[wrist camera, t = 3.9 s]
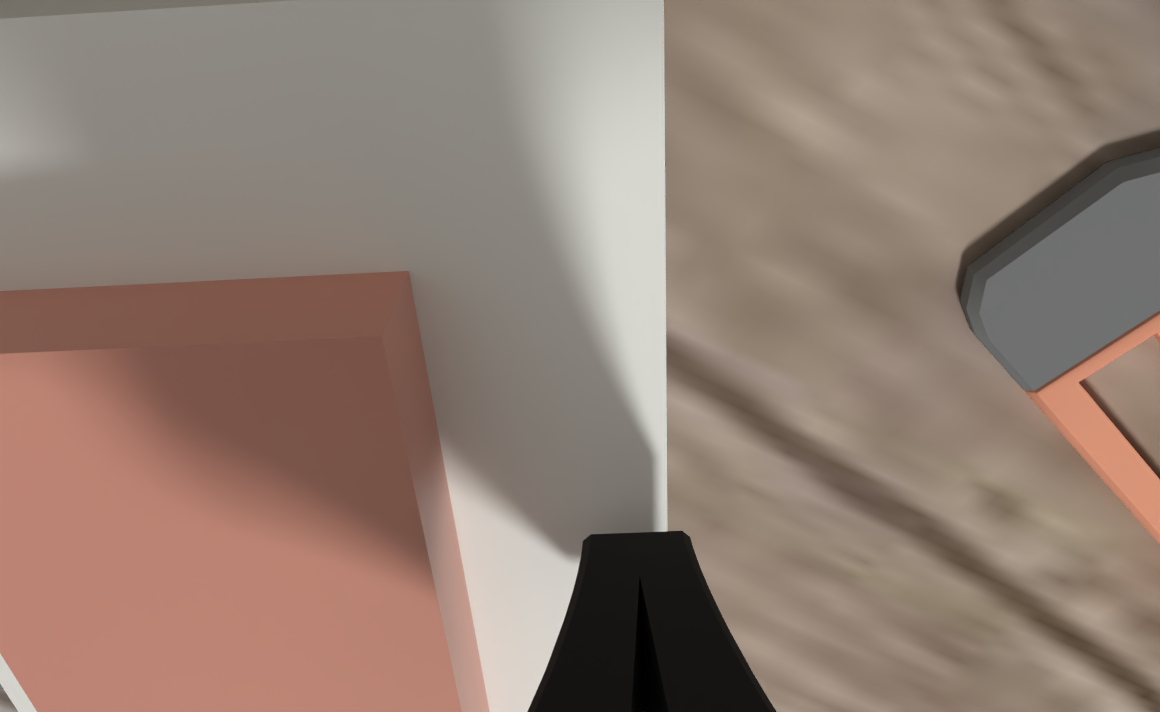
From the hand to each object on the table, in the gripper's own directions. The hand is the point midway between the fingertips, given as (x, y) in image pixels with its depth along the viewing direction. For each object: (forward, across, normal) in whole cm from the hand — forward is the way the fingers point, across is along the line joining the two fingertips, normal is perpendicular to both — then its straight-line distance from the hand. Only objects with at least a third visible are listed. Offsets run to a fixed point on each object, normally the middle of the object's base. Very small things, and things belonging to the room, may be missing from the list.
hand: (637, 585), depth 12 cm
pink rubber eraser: (+1, +6, 0) cm, 6 cm away
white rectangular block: (+4, +5, 0) cm, 6 cm away
